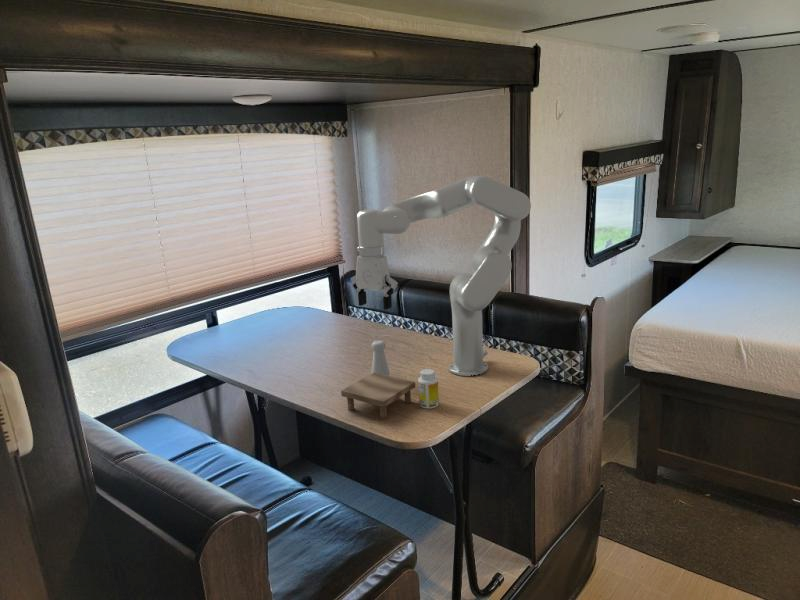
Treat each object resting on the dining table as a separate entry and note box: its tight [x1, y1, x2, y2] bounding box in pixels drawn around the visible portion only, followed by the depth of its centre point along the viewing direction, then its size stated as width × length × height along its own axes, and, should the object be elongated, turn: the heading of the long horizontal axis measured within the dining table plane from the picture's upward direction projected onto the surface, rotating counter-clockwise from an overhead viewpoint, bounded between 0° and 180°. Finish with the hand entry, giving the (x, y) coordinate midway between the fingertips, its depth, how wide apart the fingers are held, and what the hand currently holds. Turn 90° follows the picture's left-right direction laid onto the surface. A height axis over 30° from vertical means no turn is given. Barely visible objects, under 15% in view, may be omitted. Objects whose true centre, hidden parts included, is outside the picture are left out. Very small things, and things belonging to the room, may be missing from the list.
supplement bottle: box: [417, 368, 440, 410], centre depth 161 cm, size 6×6×10 cm
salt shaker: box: [370, 340, 390, 376], centre depth 180 cm, size 6×6×13 cm
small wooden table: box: [340, 373, 416, 421], centre depth 163 cm, size 15×15×6 cm
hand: (375, 306), depth 176 cm, fingers open, 9 cm apart
